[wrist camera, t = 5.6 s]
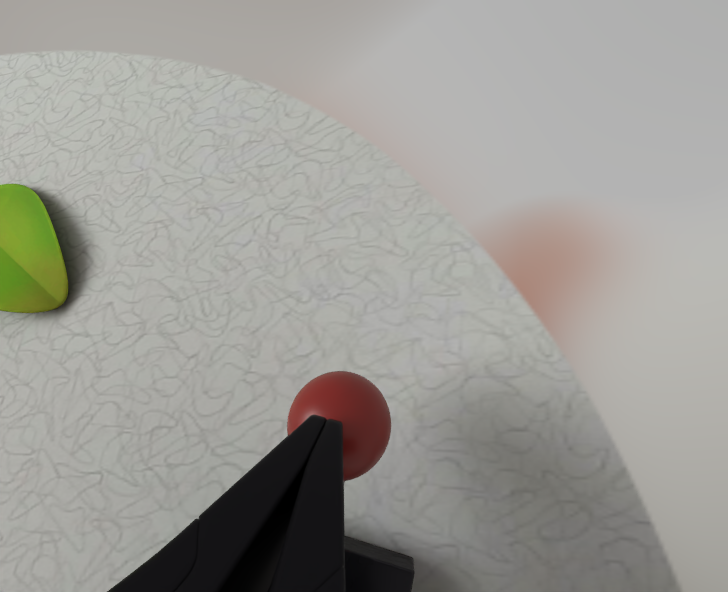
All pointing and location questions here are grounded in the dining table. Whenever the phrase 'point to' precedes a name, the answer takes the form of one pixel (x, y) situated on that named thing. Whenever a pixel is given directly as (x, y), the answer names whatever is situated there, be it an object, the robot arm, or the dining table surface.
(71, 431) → the dining table surface
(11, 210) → the decorative leaf
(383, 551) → the bracket
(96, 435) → the dining table surface
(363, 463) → the switch
